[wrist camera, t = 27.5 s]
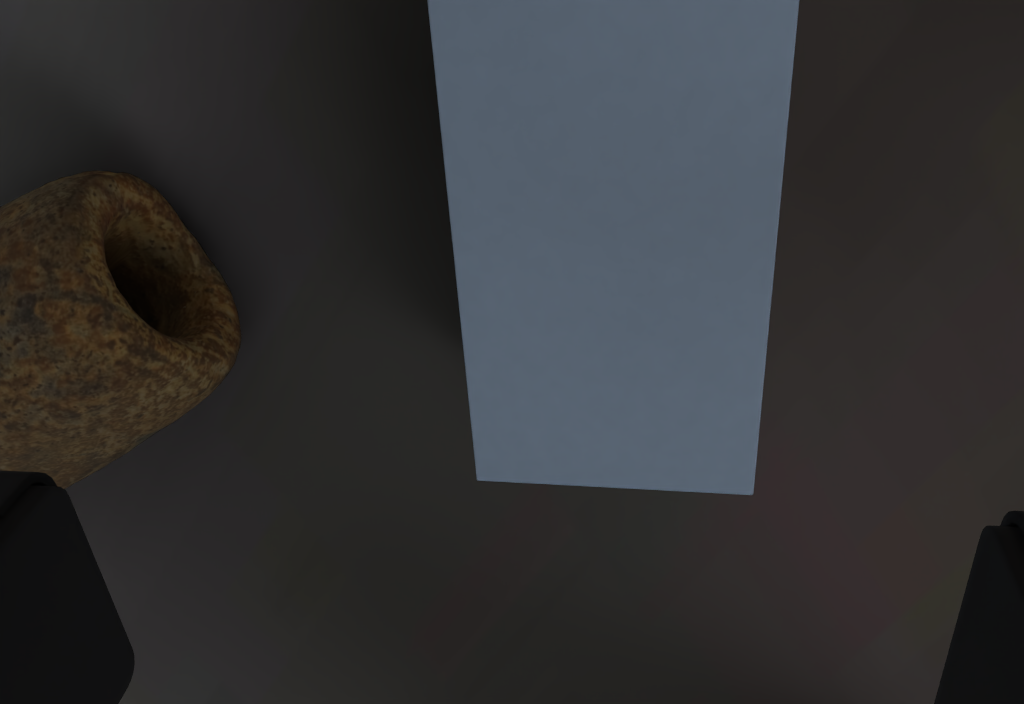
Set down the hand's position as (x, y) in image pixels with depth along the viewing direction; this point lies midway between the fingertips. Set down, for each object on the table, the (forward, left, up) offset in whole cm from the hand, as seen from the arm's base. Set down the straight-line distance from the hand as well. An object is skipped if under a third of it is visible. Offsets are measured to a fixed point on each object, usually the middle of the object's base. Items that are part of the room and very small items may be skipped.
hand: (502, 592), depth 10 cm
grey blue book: (+1, 0, -14) cm, 14 cm away
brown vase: (-10, -14, -14) cm, 22 cm away
